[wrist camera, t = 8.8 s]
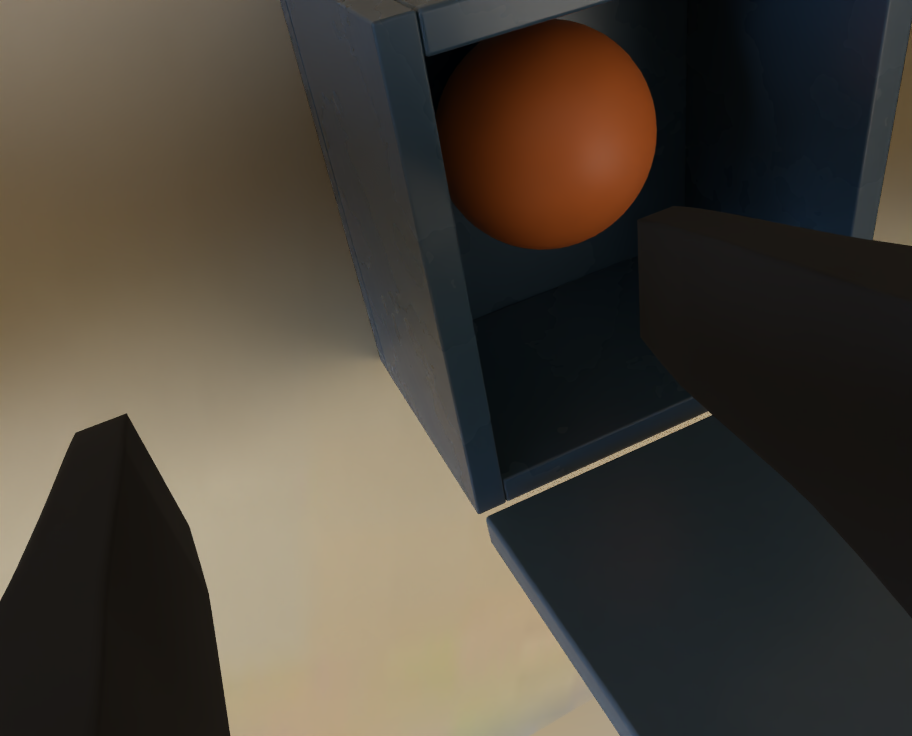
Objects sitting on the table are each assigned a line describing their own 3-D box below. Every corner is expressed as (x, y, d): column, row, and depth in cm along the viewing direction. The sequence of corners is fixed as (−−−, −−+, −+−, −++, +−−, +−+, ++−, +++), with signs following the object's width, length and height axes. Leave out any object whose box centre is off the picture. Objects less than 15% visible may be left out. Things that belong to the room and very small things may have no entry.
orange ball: (422, 230, 20) (510, 318, 16) (380, 34, 17) (476, 87, 14) (585, 170, 21) (702, 240, 18) (572, -23, 18) (708, 12, 15)
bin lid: (945, 1193, 8) (935, 1213, 8) (1573, 710, 10) (1539, 745, 11) (483, 516, 17) (490, 542, 17) (870, 342, 19) (867, 369, 20)
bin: (268, -39, 16) (371, 22, 11) (695, -150, 19) (942, -142, 13) (380, 360, 23) (478, 515, 17) (688, 240, 25) (854, 346, 20)
